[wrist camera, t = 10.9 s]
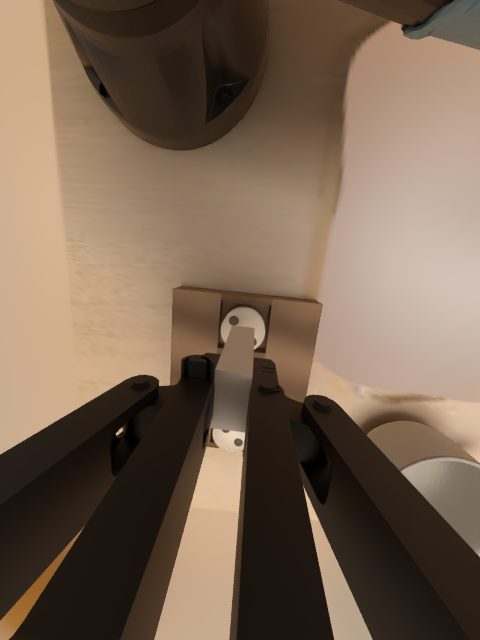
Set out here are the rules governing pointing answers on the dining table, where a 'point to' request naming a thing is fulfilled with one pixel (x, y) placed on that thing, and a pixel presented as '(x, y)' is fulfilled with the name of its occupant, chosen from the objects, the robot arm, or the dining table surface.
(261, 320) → the button three
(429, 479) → the teacup
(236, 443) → the button two
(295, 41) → the dining table surface
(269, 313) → the panel
